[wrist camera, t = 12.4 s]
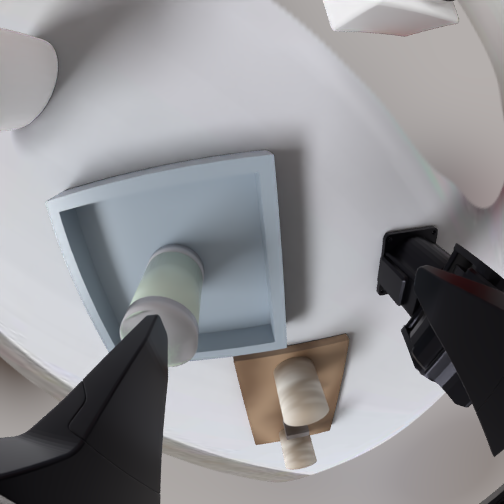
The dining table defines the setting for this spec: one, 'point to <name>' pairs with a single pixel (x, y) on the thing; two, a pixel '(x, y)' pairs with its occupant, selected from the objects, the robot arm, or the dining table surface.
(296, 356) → the fuse rack
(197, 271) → the cylinder
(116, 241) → the tray
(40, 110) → the mug
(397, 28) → the medicine bottle
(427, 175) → the dining table surface
